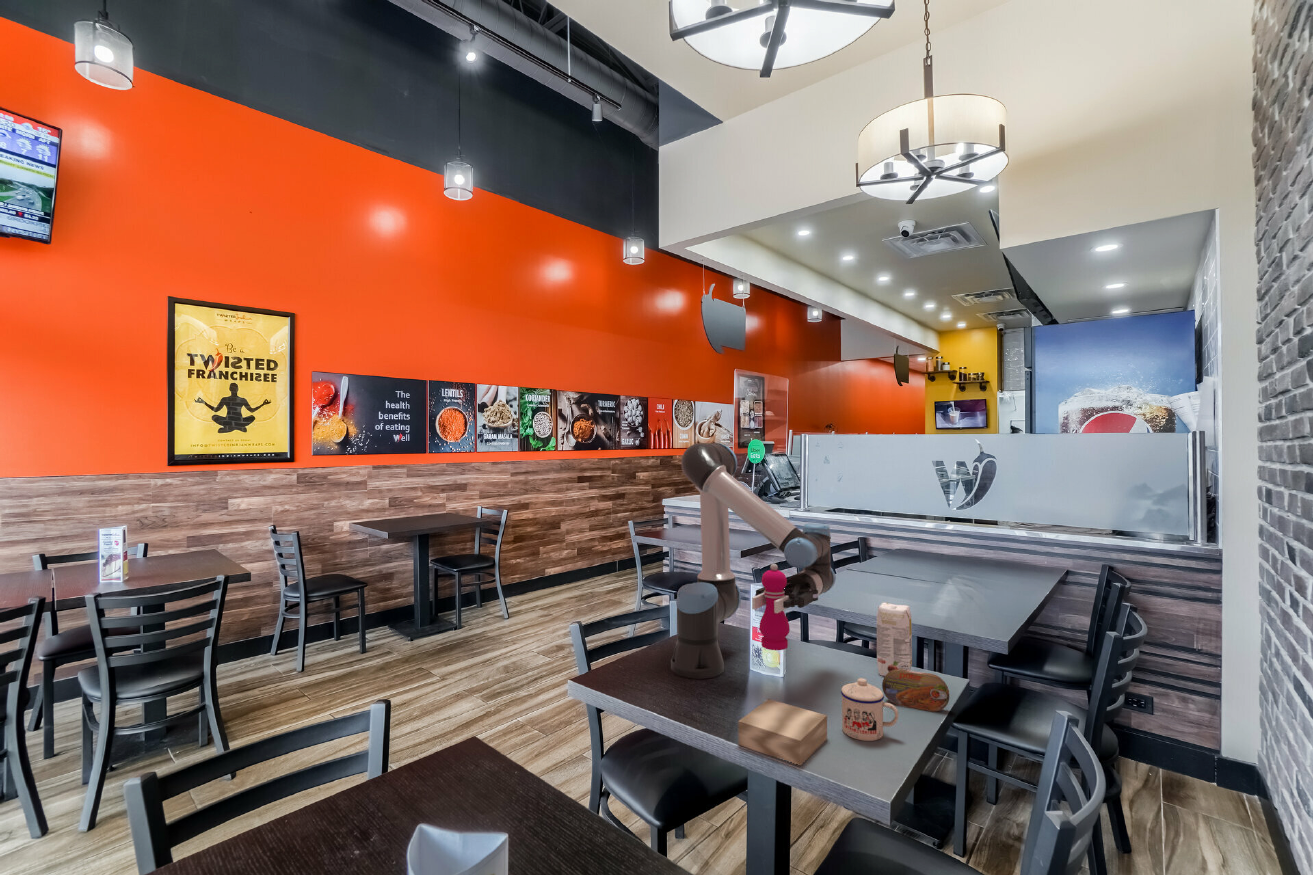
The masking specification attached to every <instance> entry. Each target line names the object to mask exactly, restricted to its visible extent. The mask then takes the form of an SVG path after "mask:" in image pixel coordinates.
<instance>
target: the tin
mask: <svg viewBox="0 0 1313 875" xmlns="http://www.w3.org/2000/svg"><path fill="white" fill-rule="evenodd" d="M883 677H884V678H883V680H882V683H881V686H882V687H881V688H882V693H883V695H884V697H886V699H887V700H888V701H890V702H891V704H893V705H895V706H898V707H905V708H910V709H917V710H922V711H927V712H940V711H942V710H943V709H945V708H946V707H947V705H949V701H950V690H949V688H948V686H947V683H946V681H944V680H943V678H941V677H940V676H938V675H937V674H934V673H927V672H923V671H916V670H915V671H913V670H910V671H909V670H902V669H895V670H892V671H890V672H889V673H887V675H886V676H883Z"/></svg>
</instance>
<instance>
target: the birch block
mask: <svg viewBox="0 0 1313 875" xmlns="http://www.w3.org/2000/svg"><path fill="white" fill-rule="evenodd" d="M737 723H738V726H737V727H738V732H737V733H738V738H737V739H738V745H739V746H741V747H744V748H748V749H749V750H753V751H755V752H757V753H758V752H759V753H761V754H764V755H767V756H771V757H773V756H774V757H773V758H776V757H777V759H779V758H781V759H784V760H788V761H789V762H788V763H790V762H792V763H791V764H793V763H794V764H793V765H796V764H798V765H797V766H799V765H801V764H802V765H803V764H804V763H805V762H806V761H807V760H808V759H809V758H810V757H811V756H812V755H813V754H814V753H815V752H816V750H818V748H820V746H822V745H823V744H824V743H825V741H827V740H828V715H826V714H823V713H819V712H817V711H813V710H808V709H806V708H803V707H802V708H801V707H798V706H794V705H791V704H789V703H788V704H787V703H784V702H781V701H776V700H773V699H767V700H765V701H764V702H763V703H761V704H760V705H758V706H756V708H754V709H753V710H751V711H750V712H749V713H748V714H746V715H745V716H743V717H742V718H741V719H739V720H738V722H737ZM781 759H780V760H781ZM784 760H783V761H784ZM805 760H806V761H805ZM803 762H804V763H803ZM802 765H801V766H802Z"/></svg>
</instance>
